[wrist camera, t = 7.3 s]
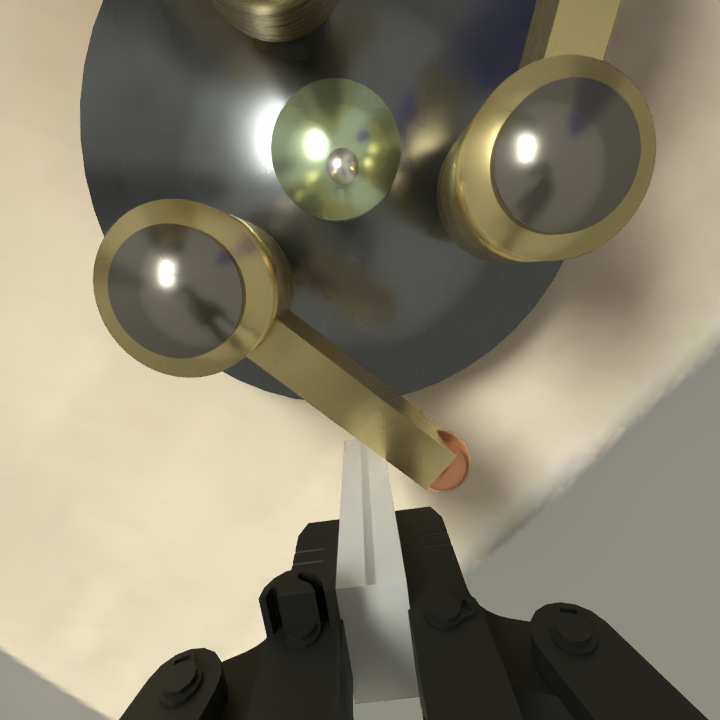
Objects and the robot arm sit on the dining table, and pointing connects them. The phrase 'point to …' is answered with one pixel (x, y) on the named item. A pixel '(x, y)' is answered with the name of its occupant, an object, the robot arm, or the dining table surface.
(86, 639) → the dining table surface
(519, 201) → the knob
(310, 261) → the tribrach plate
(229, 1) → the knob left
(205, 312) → the knob
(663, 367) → the dining table surface
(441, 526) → the robot arm
